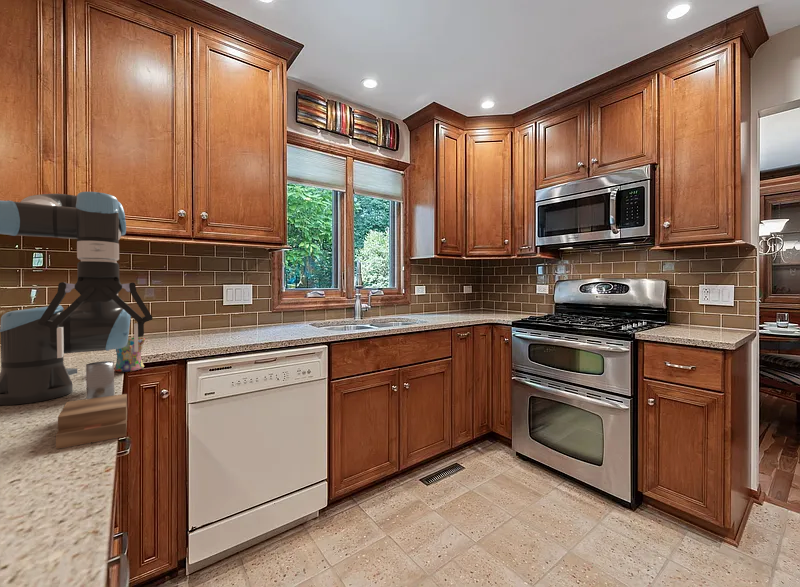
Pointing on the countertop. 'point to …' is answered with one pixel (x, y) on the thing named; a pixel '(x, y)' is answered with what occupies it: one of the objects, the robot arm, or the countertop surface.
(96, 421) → the step block
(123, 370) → the colorful snack bag
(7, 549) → the countertop surface
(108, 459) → the countertop surface
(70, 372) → the bracket
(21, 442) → the countertop surface
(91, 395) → the column
